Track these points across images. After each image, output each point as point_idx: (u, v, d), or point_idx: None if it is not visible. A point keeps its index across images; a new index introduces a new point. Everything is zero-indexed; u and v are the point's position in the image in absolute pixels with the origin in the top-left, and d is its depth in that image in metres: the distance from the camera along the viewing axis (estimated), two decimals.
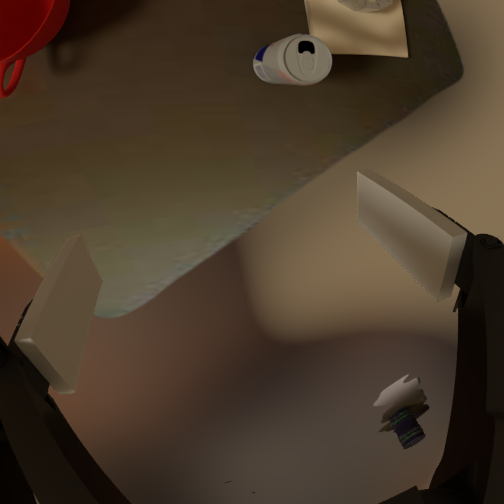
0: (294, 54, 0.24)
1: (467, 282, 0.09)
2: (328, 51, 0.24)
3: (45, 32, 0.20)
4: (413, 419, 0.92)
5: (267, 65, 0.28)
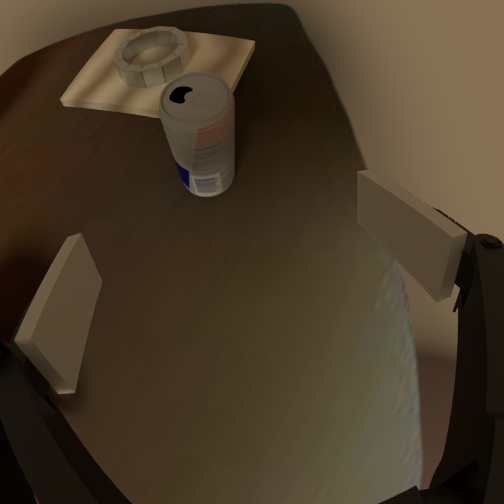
0: (182, 108, 0.19)
1: (467, 282, 0.09)
2: (197, 73, 0.20)
3: None
4: None
5: (192, 161, 0.23)
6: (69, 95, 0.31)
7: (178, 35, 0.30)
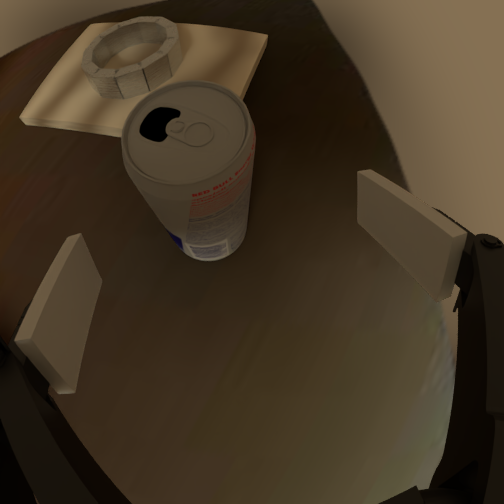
0: (161, 152, 0.11)
1: (467, 282, 0.09)
2: (189, 84, 0.11)
3: None
4: None
5: (185, 231, 0.15)
6: (30, 111, 0.23)
7: (166, 27, 0.22)
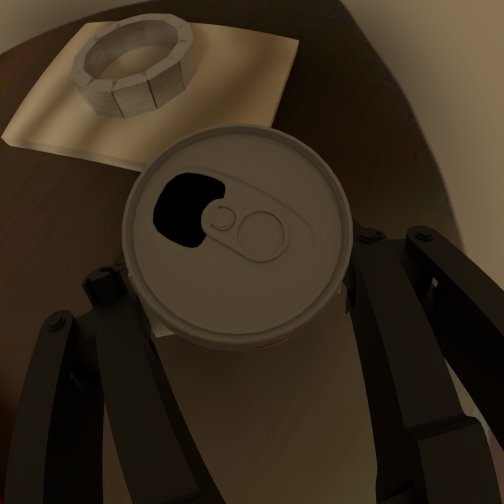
0: (198, 271, 0.06)
1: (352, 282, 0.10)
2: (236, 130, 0.07)
3: None
4: None
5: None
6: (13, 130, 0.18)
7: (177, 26, 0.18)
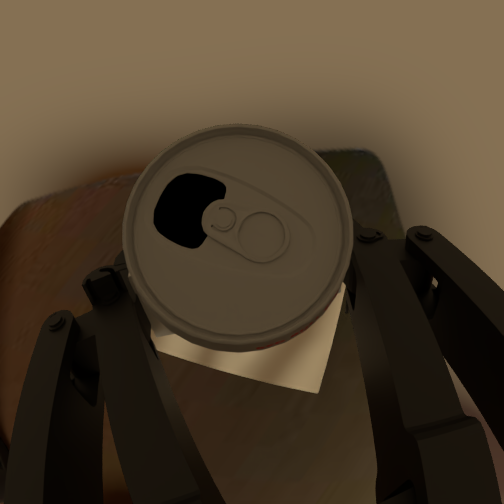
0: (199, 272, 0.06)
1: (352, 282, 0.10)
2: (237, 131, 0.07)
3: None
4: None
5: None
6: None
7: None
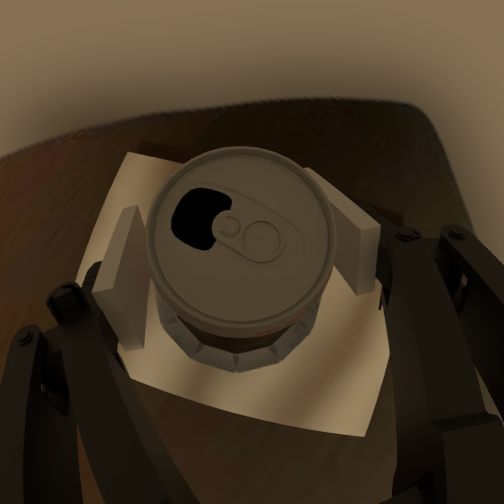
0: (209, 269, 0.08)
1: (387, 279, 0.10)
2: (241, 152, 0.08)
3: None
4: None
5: None
6: None
7: None
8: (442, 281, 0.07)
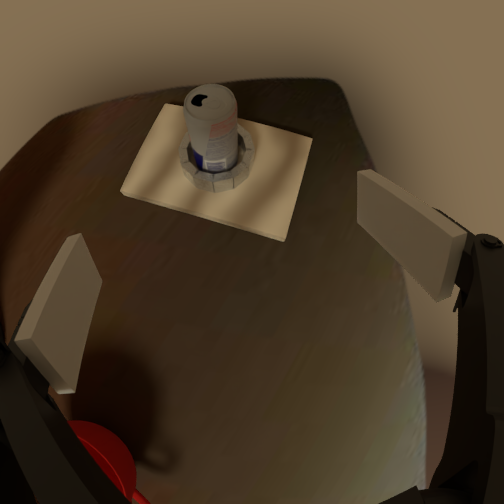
0: (200, 110, 0.27)
1: (467, 282, 0.09)
2: (211, 85, 0.28)
3: (124, 470, 0.24)
4: None
5: (205, 148, 0.31)
6: (130, 187, 0.38)
7: (243, 136, 0.37)
8: None
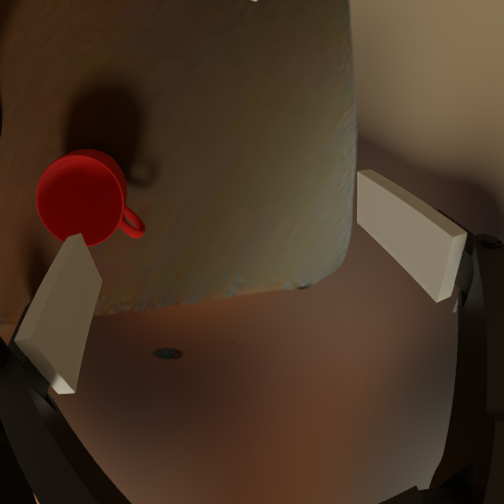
0: None
1: (467, 282, 0.09)
2: None
3: (121, 179, 0.37)
4: None
5: None
6: None
7: None
8: None
